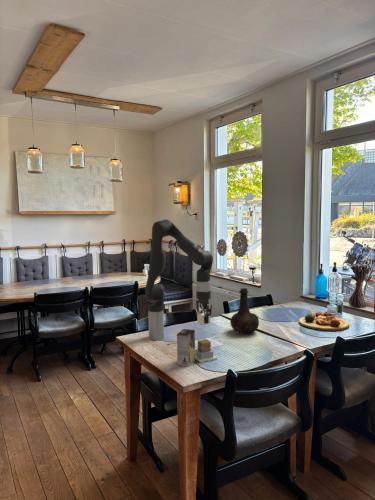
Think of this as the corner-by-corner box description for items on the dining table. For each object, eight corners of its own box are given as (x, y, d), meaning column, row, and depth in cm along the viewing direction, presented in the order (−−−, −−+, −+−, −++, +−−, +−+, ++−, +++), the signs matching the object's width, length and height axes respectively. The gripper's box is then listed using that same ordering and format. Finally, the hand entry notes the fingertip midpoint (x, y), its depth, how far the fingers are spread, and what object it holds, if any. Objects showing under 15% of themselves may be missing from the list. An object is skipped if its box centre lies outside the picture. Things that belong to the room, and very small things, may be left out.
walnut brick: (197, 349, 199) (197, 340, 198) (206, 348, 201) (206, 339, 201) (202, 352, 194) (202, 343, 194) (210, 351, 197) (210, 341, 196)
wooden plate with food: (357, 331, 238) (357, 319, 238) (306, 331, 239) (306, 318, 239) (338, 319, 270) (338, 307, 270) (293, 318, 271) (293, 307, 271)
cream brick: (197, 323, 198) (197, 313, 197) (205, 321, 200) (205, 312, 199) (201, 325, 193) (201, 316, 193) (210, 324, 195) (210, 314, 195)
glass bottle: (258, 337, 230) (258, 291, 227) (229, 335, 234) (229, 291, 231) (259, 328, 247) (259, 286, 245) (231, 327, 251) (231, 285, 248)
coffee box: (184, 358, 198) (183, 328, 196) (195, 360, 195) (195, 329, 194) (177, 365, 189) (176, 333, 188) (189, 366, 187) (188, 335, 185)
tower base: (191, 356, 200) (191, 349, 200) (208, 353, 205) (208, 346, 204) (200, 362, 191) (200, 355, 191) (217, 359, 196) (217, 351, 195)
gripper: (190, 288, 200) (191, 319, 201) (203, 292, 187) (203, 326, 188) (203, 286, 203) (203, 317, 204) (216, 291, 190) (217, 324, 191)
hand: (203, 321), depth 196 cm, fingers closed on cream brick, 5 cm apart
